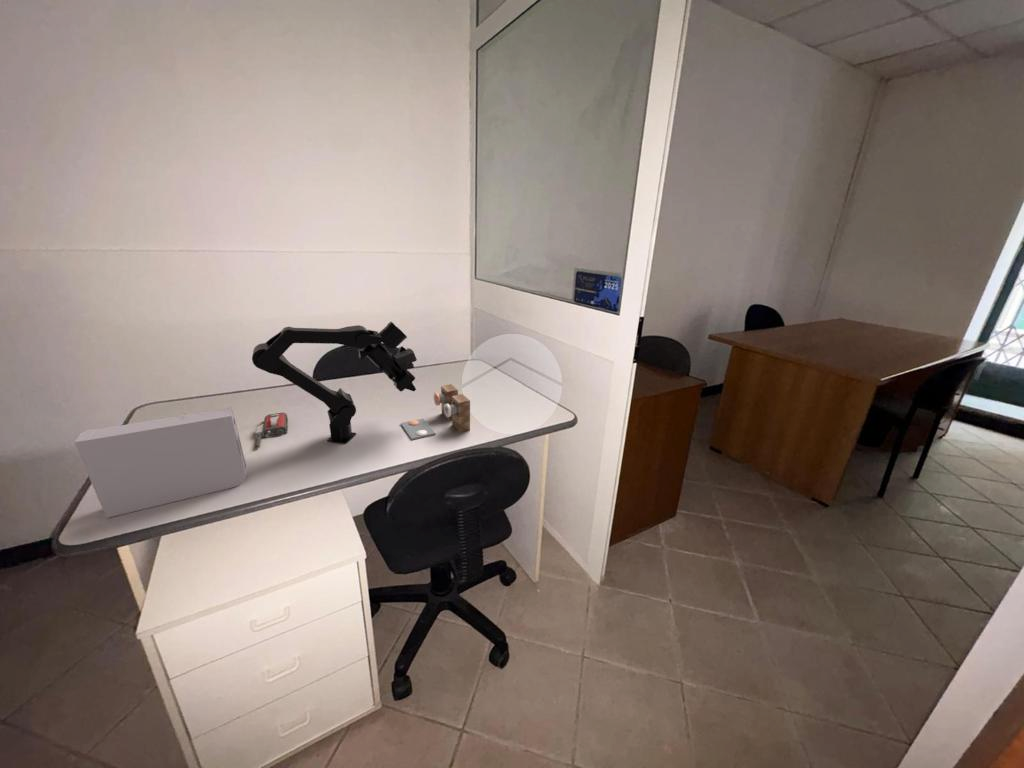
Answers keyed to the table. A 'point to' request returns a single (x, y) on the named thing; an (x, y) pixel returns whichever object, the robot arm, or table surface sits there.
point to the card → (417, 429)
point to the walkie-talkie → (272, 426)
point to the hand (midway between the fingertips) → (414, 390)
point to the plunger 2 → (450, 409)
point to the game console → (162, 460)
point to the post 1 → (448, 396)
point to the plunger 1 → (439, 398)
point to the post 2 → (461, 413)
